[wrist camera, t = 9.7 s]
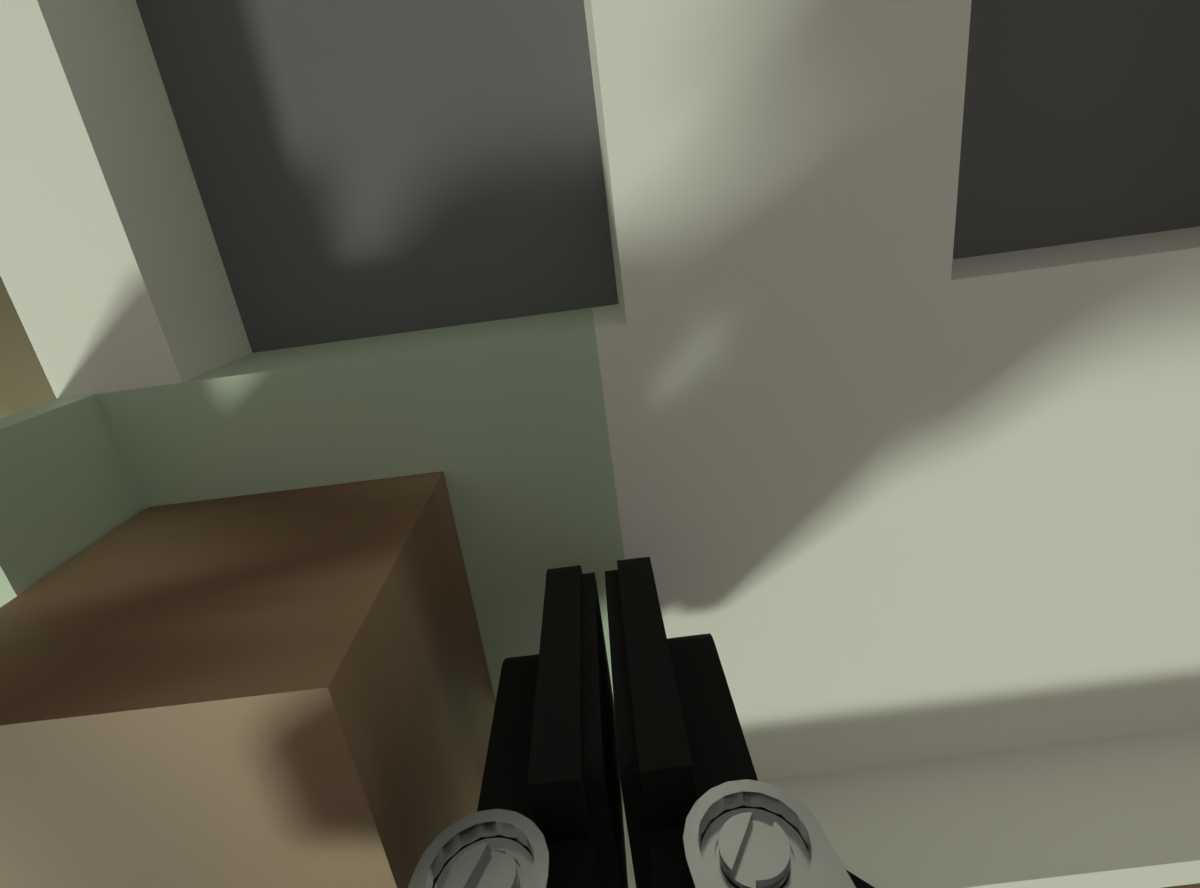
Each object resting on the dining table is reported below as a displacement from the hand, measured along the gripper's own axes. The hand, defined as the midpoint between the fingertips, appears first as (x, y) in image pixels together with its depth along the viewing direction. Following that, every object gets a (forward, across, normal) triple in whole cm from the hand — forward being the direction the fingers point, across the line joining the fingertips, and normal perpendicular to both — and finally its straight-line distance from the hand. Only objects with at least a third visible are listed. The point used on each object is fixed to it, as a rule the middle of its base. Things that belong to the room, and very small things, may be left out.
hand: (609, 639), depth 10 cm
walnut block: (+1, +5, 0) cm, 5 cm away
